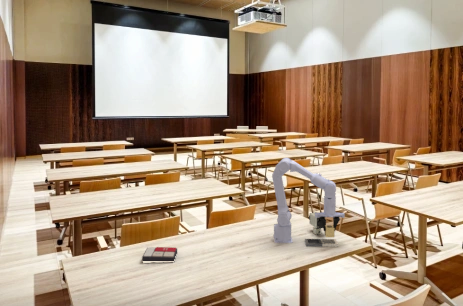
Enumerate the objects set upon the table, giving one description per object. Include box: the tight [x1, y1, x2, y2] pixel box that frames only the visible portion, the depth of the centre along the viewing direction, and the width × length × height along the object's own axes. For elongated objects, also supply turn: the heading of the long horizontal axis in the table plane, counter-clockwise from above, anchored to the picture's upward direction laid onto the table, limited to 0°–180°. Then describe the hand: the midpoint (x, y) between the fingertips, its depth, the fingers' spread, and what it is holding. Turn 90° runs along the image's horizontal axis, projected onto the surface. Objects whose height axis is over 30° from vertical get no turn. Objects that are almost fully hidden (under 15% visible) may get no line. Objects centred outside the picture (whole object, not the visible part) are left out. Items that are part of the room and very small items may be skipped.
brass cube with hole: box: [324, 224, 335, 238], centre depth 190 cm, size 4×4×5 cm
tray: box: [304, 238, 339, 248], centre depth 191 cm, size 16×7×2 cm, turn 86°
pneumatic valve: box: [308, 211, 323, 236], centre depth 205 cm, size 6×12×12 cm, turn 15°
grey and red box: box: [141, 246, 178, 262], centre depth 180 cm, size 11×4×15 cm
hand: (329, 230), depth 190 cm, fingers closed on brass cube with hole, 4 cm apart
